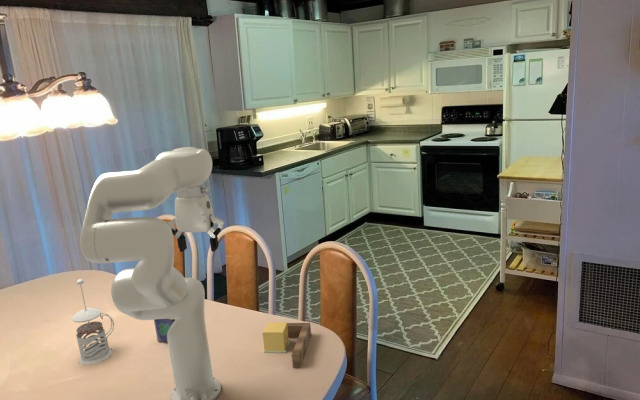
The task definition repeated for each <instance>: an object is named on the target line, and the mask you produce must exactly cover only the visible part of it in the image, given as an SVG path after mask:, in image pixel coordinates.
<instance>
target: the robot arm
mask: <svg viewBox="0 0 640 400" xmlns="http://www.w3.org/2000/svg"><path fill="white" fill-rule="evenodd" d="M212 170H213V159H212V156H211V154H210V153H209V151H207V149H204V148H196V147H195V146H185V147H178V148H175V149H172V150H170V151H163V152H160V153H159V154H158V155H157V156H156V158H155V159H154V160H152V161H150V162H149V163H147V164H145V165H144V166H142V167H141V168H139V169H135V170H125V171H114V172H113V171H111V172H104V173H102V174H100V175H99V176H98V177H97V179H96V180H95V182H94V183H93V186H92V188H91V191H90V194H89V197H88V201H87V205H86V208H85V213H84V218H83V222H82V226H81V230H80V238H79V247H80V252H81V253H82V255H83V257H84V259H85V260H87V261H88V262H90V263H95V264H111V263H124V262H137V261H138V263H137V264H136V265H135V267H134V268H126V269H123V270H121V271H119V272H118V273H117V274H116V275H115V277H114V278H113V280H112V283H111V287H110V293H111V294H110V295H111V299H112V302H113V304H114V306H115V308H116V309H117V310H118V311H119V312H121V313H122V314H124V315H127V316H129V317H131V318H133V319H136V320H139V321H151V320H152V321H154V319H175V321H174V322H173V324H172V325H171V327H170V328H169V331H168V334H167V341H168V344H167V347H168V351H169V352H168V353H169V358H170V362H171V363H170V364H171V368H172V369H171V370H172V374H173V381H174V387H173V389H171V390H172V391H171V392H170V400H216V399H217V397H218V396H219V395H220V393H221V391H222V387H221V386H222V385H221V382H220V380H218V379H217V378H216V377H214V374H213V367H212V360H211V353H210V347H209V339H208V333H207V327H206V326H207V325H206V317H205V315H206V314H205V312H206V311H205V306H206V305H205V302H206V301H205V300H206V299H205V295H206V293H205V287H204V285H203V283H202V282H201V281H200V280H199V279H197V278H194V277H184V275H183V274H182V273H181V272H180V271H179V270H178V269H177V268H175V266H174V265H175V264H174V263H175V242H174V241H175V239H177V240H176V241H177V246H178V249H179V253H182V252H184V251H185V250H187V249H188V248H187V247H188V245H187V239H186V236H185V235H184V234H185V233H206V234H208V235H209V236H210V238H209V243H210V251H211V252H212V253H213V252H215V251H216V250H218V248H219V246H220V245H219V237H218V236H219V235H220V233H221V232H222V230H223V228H224V225H225V220H222V219H221V218H219V217H217V216H215V213H214V209H213V207H212V203H211V200H210V197H209V195H208V194H206V193H208V192H209V190H210V189H209V187H208V186H207V187H206V186H205V184H204V183H205V182H206V181H207V179H208V178H210V176H211V173H212ZM174 193H176V197H175V200H174V214H175V215H174V218H173V219H171V220H169V221H168V222H166V221H165V220H163V219H160V218H158V217H153V216H152V217H151V216H140V217H126V218H125V217H124V218H123V217H122V218H113V215H114V214H115V213H125V212H127V213H128V212H139V211H149V210H152V209H155V208H158V207H159V206H161V205H162V204H163V203H164V202H165V201H166V200H167V199H168V198H169V197H170V196H171V195H173V194H174ZM175 225H176V226H175ZM216 225H217V227H216V228H215V226H216ZM174 238H175V239H174Z"/></svg>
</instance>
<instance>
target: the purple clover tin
mask: <svg viewBox="0 0 640 400" xmlns="http://www.w3.org/2000/svg"><path fill="white" fill-rule="evenodd" d="M174 321H175V319H154V320H153V323H154V326H155V327H154V328H155V334H156V340H157V342H158V343H163V344H167V345H168V341H167V334H168V331H169V328H170V327H171V325H172V324H173V322H174Z"/></svg>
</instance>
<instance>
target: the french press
mask: <svg viewBox="0 0 640 400" xmlns="http://www.w3.org/2000/svg"><path fill="white" fill-rule="evenodd" d="M84 283H85V282H84V280H83V279H82V278H79V279H77V280H76V285H80V290H81V294H82V295H81V296H82V301H83V305H84V308H83V309H81V310H79V311H78V312H76V313H75V314H74V315H73V316H72V317H71V320H72V321H73V322H74V323H84V324H82V325H80V326H78V327H77V328H76V331H75V332H76V339H77V340H76V341H77V345H78V348H79V354H80V356H79V358H78V359H77V362H78V361H79V362H80V363H81V364H85V365H84V366H91V364H92V365H96V364H99V363H101V361H102V362H103V360H104V361H106V360H107V359H109V358H110V357H111V356H112V354H113V353H112V352H113V349H112V348H109V347H110V346H109V342H108V337H109V336H110V335H111V334H112V333H113V331H114V329H115V323H114V319H113V318H112V316H110V315H109V314H107V313H103V312H102V309H99V308H95V307H87V308H86V302H85V297H84V292H83V288H82V287H83V286H82V284H84ZM98 317H100V318H101V320H103V319H104V317H108V318H109V319H110V323H111V324H110V328H109V331H107V332H106V331H105V328H104V326H103V322H101V321H92V320H95V319H97V318H98ZM111 330H112V331H111ZM87 336H88V337H87ZM111 349H112V350H111ZM111 353H112V354H111ZM110 355H111V356H110ZM109 356H110V357H109ZM105 359H106V360H105ZM80 363H79V364H80ZM95 363H96V364H95ZM81 364H80V365H81ZM89 364H90V365H89Z"/></svg>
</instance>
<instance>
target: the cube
mask: <svg viewBox="0 0 640 400" xmlns="http://www.w3.org/2000/svg"><path fill="white" fill-rule="evenodd" d="M287 323H288V322H286V321H285V322H284V321H283V322H280V321H278V322H273V321H272V322H271V321H269V322H266V324H265V327H264V329H263V330H262V338H263V339H262V340H263V346H264V347H263V348H264V349H263V350H265V351H285V349H286V347H287V344H288V342H289V340H290V338H289V336H288V327H287Z"/></svg>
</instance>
